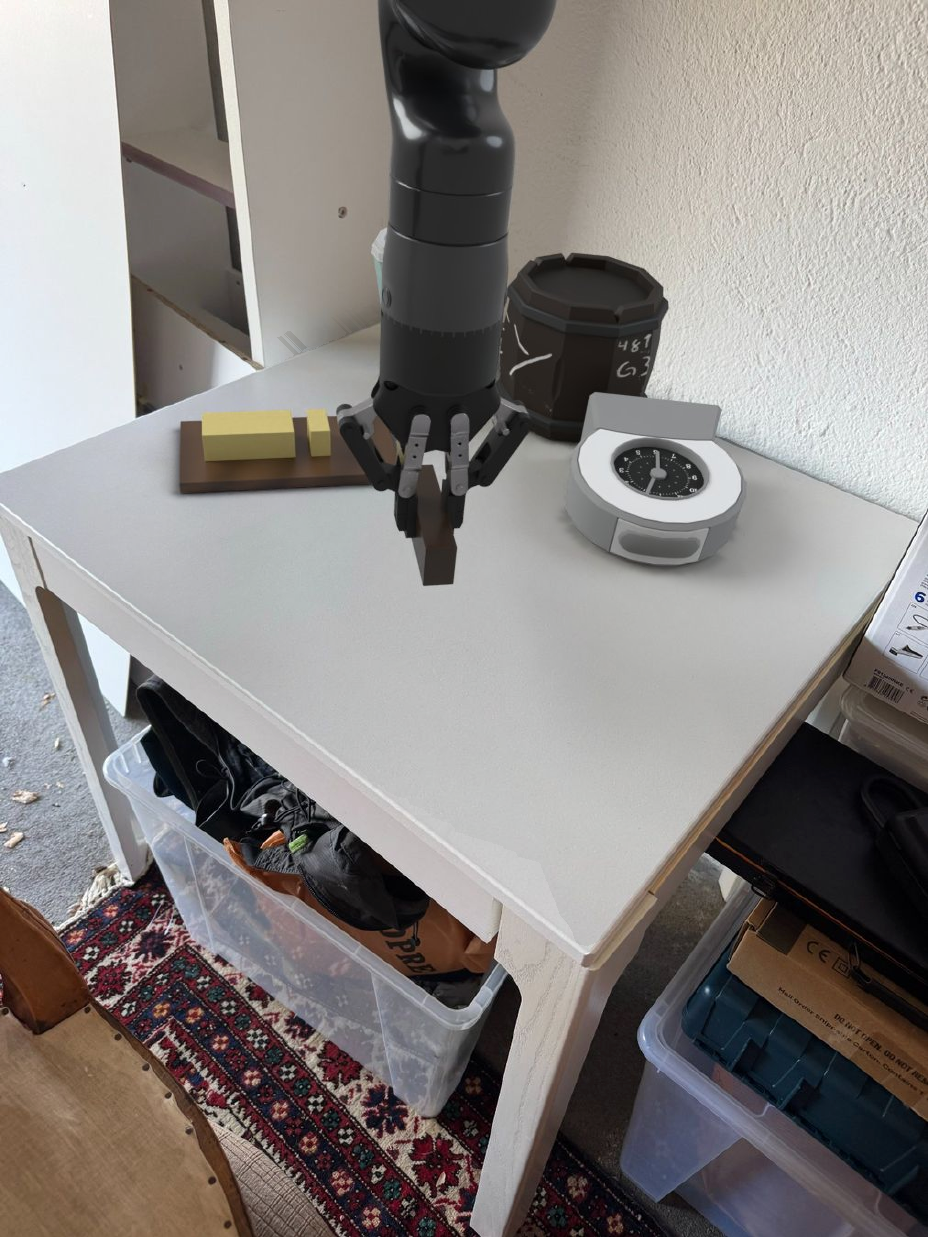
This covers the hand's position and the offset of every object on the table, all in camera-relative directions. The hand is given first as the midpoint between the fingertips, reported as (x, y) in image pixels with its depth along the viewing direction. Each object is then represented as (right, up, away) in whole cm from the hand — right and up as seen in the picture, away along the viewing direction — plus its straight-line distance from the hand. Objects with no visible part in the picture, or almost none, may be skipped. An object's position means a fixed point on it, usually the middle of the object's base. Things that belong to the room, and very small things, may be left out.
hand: (427, 529), depth 68 cm
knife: (-1, +3, +5) cm, 6 cm away
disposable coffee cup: (-4, +27, +50) cm, 57 cm away
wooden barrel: (+15, +18, +43) cm, 49 cm away
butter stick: (-20, +11, +28) cm, 36 cm away
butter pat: (-13, +12, +30) cm, 34 cm away
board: (-16, +11, +30) cm, 35 cm away
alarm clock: (+21, +4, +27) cm, 35 cm away
